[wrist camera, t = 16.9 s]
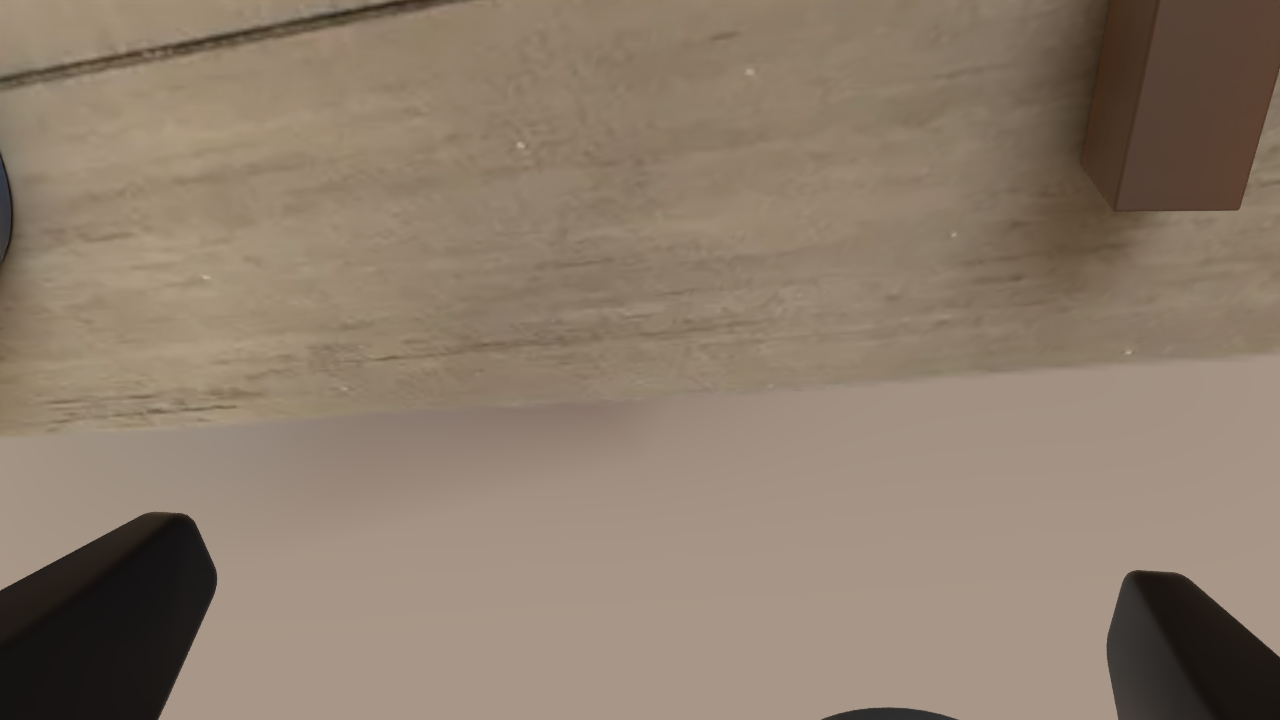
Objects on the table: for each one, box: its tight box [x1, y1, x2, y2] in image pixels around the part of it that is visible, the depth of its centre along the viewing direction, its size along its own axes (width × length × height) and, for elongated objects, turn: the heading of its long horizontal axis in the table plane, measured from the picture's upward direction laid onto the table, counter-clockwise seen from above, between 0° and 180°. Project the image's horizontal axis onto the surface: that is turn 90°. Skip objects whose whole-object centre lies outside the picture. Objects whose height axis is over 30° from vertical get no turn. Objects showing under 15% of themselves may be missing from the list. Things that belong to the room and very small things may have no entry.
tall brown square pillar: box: [1081, 0, 1280, 212], centre depth 15 cm, size 2×5×2 cm, turn 4°
